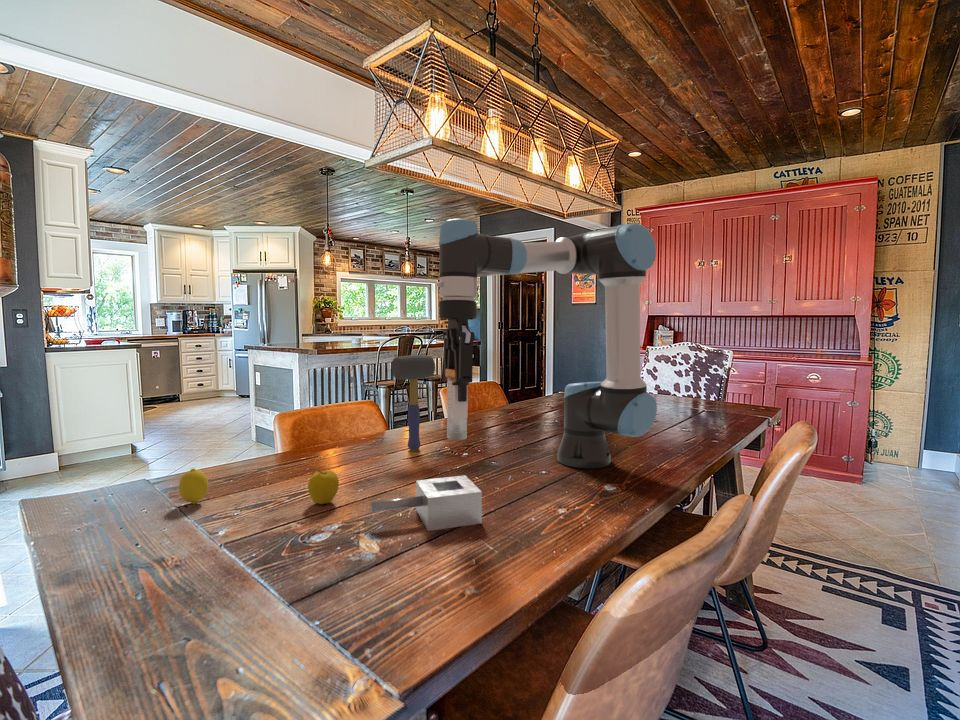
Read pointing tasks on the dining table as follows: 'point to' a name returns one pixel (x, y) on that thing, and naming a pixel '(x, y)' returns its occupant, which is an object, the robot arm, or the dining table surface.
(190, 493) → the lemon
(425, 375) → the rubber mallet
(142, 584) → the dining table surface
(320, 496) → the apple
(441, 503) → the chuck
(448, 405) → the grey gold cylinder
